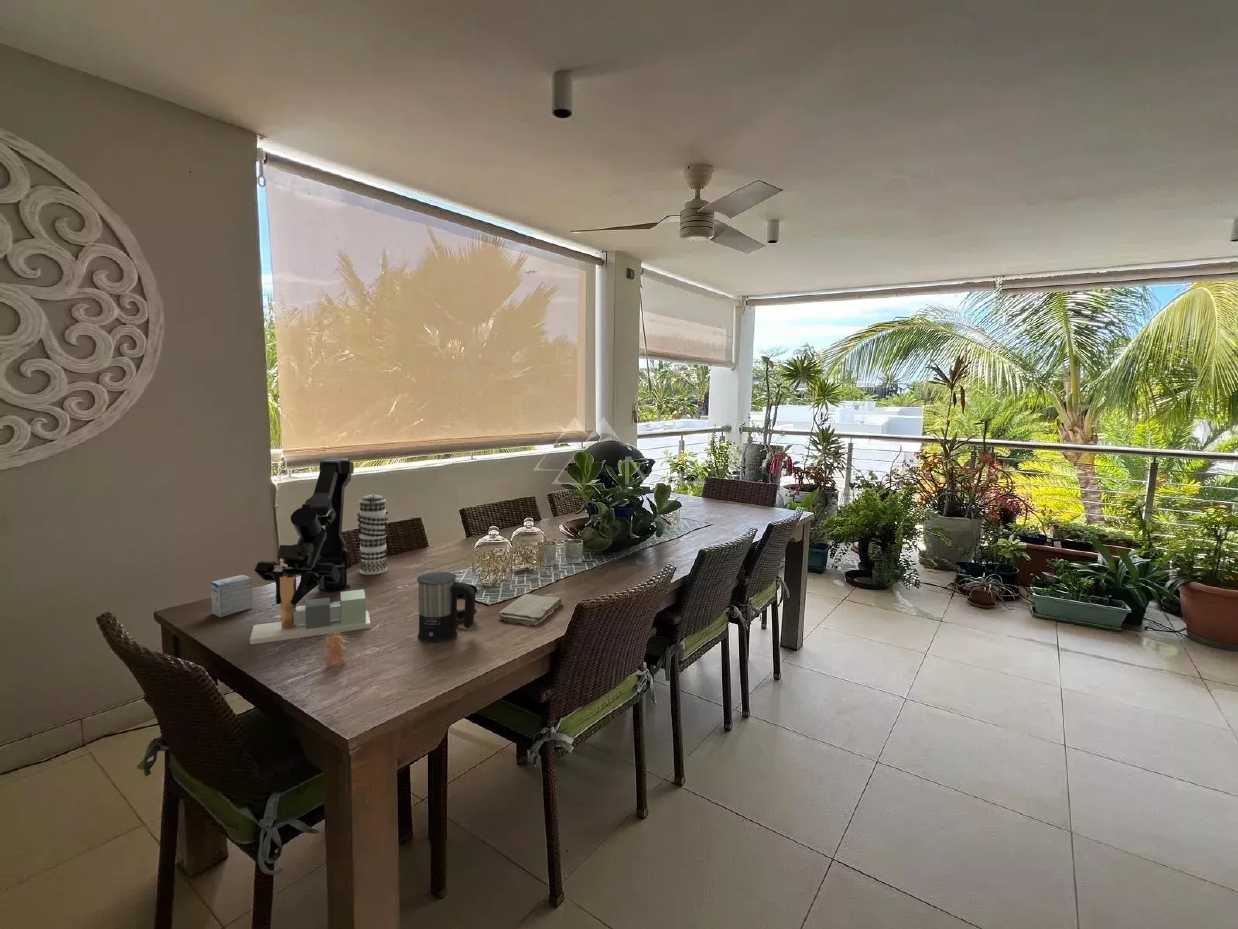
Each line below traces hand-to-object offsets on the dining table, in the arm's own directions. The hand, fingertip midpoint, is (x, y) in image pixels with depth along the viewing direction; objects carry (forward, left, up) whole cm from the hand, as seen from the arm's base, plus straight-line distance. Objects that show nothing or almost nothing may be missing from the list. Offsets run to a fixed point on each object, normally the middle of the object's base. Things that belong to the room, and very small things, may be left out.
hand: (285, 604), depth 136 cm
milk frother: (-25, +28, -8) cm, 38 cm away
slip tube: (-7, +2, -6) cm, 9 cm away
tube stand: (-6, +2, -8) cm, 10 cm away
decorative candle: (-42, -28, -8) cm, 51 cm away
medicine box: (+1, -25, -8) cm, 26 cm away
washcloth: (-47, +36, -8) cm, 60 cm away
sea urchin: (+2, +24, -8) cm, 25 cm away
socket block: (-13, +6, -6) cm, 16 cm away
